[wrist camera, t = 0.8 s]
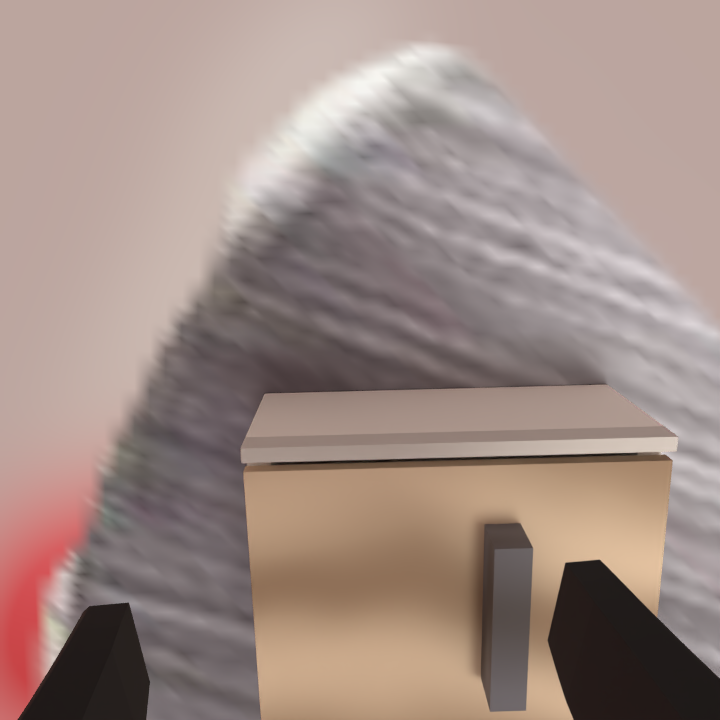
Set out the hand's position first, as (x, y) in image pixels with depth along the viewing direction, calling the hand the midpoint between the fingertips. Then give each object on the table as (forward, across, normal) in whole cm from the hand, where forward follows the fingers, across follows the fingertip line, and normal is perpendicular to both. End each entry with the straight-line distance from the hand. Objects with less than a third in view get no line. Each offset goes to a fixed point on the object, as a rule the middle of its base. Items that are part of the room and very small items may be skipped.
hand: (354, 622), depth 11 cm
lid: (+8, -4, +9) cm, 13 cm away
